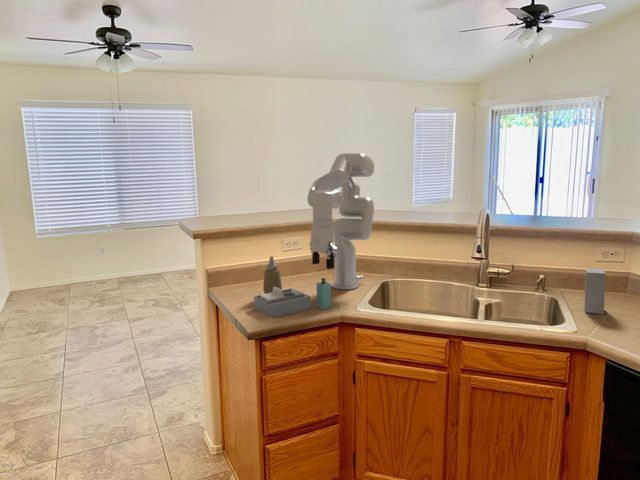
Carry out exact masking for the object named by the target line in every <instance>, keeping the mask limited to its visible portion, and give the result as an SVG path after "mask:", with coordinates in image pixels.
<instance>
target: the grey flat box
mask: <svg viewBox="0 0 640 480" xmlns="http://www.w3.org/2000/svg"><path fill="white" fill-rule="evenodd" d="M282 290H283V296H285V298H280V299H276V300H271V301H266V300H264V299H262V298H260V295H263V294H264V293H262V294H259V295H254V296H253V304H254V306H253V307H254V309H255V310H257V311H259V312H260V313H262V314H264V315H266V316H267V317H269V318H270V317H271V319H273V318H277V316H278V317H281V315H282V316H285V314H286V315H289V313H290V314H293V313H294V314H295V313H298V312H301V311H305V310H309V309H312V306H311V305H312V299H311V297H312V296H311V295H308V294H306V293H303V292H302V291H300V290H297V289H295V288H287V289H282ZM271 293H272V292H271ZM267 294H268V293H267Z"/></svg>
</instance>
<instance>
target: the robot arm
mask: <svg viewBox="0 0 640 480" xmlns="http://www.w3.org/2000/svg"><path fill="white" fill-rule="evenodd" d="M374 172H375V163H374V161H373V159H372V158H371V157H370V156H368V155H367V154H366V153H362V152H353V153H351V152H350V153H348V152H346V153H340V154H339V155H337V156H336V158H335V159H334V161H333V163H332V165H331V168H330V170H329V172H328V173H325V174H324V175H322V176H320V177H319V178H317V179H315V180H314V182H313V183H312V185H311V187H310V188H309V190H308V194H307V197H306V198H307V203H308V205H309V206H310V207H311V208H312V226H311V231H310V232H311V233H310V242H309V243H308V244H309V247H310V248H309V249H310V251H311V255H312V257H311V258H312V259H311V260H312V262H311V263H312V265H318V264H319V265H320V262H321V261H320V260H321V257H320V256H321V255H320V254H325V255H326V260H325V261H326V264H325V265H326V269H327V270H329V269H330V270H331V269H334V277H335V278H334V281H333V282H332V283H331V286H332V288H334V289H338V290H347V291H348V290H354V289H357V288H359V286H360V282H358V281H361V280H364V279H365V277H364V275H357V272H356V271H357V270H356V268H357V265H356V263H357V262H356V259H357V258H356V257H357V255H356V254H357V252H356V251H357V249H356V246H355V244H354V243H353V241H367V240H369V239H370V238H371V234H372V228H373V223H374V222H373V220H374V215H375V214H374V213H375V205H374V204H375V203H374V200H373V199H372V197H368V196H360V194H361V188H360V185H359V183H358V182H357V180H355V178H362V177H363V178H368V177H371V176H372V175H373V174H374ZM354 177H355V178H354ZM339 188H341V191H340V190H339ZM333 209H338V211H339V214H340V216H342V217H343V218H337V219H336V220H334V221H333Z"/></svg>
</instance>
